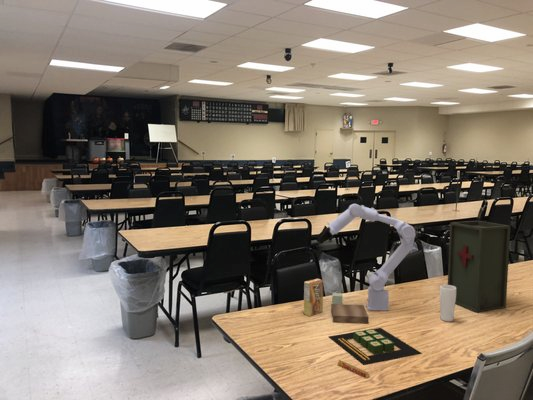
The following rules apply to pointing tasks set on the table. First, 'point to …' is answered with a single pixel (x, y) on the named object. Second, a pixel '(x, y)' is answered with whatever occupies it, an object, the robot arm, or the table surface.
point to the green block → (337, 298)
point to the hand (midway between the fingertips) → (318, 240)
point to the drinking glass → (447, 302)
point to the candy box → (313, 297)
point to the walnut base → (349, 313)
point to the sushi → (374, 345)
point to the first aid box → (479, 264)
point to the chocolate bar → (353, 369)
